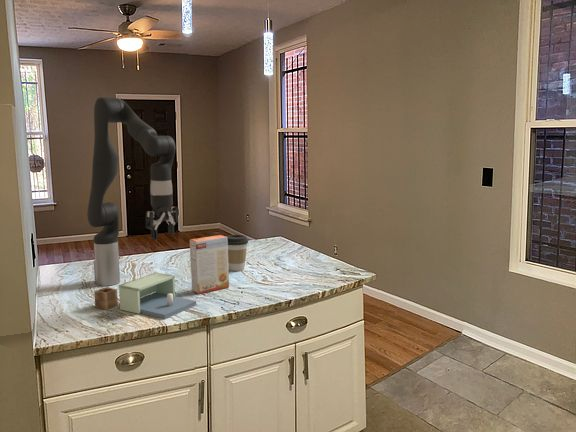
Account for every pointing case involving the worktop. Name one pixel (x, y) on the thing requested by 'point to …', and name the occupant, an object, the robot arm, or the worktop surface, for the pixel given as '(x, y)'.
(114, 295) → the wooden box
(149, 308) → the base
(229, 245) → the coffee cup
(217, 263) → the cracker box
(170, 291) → the cover
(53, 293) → the worktop surface
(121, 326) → the worktop surface
